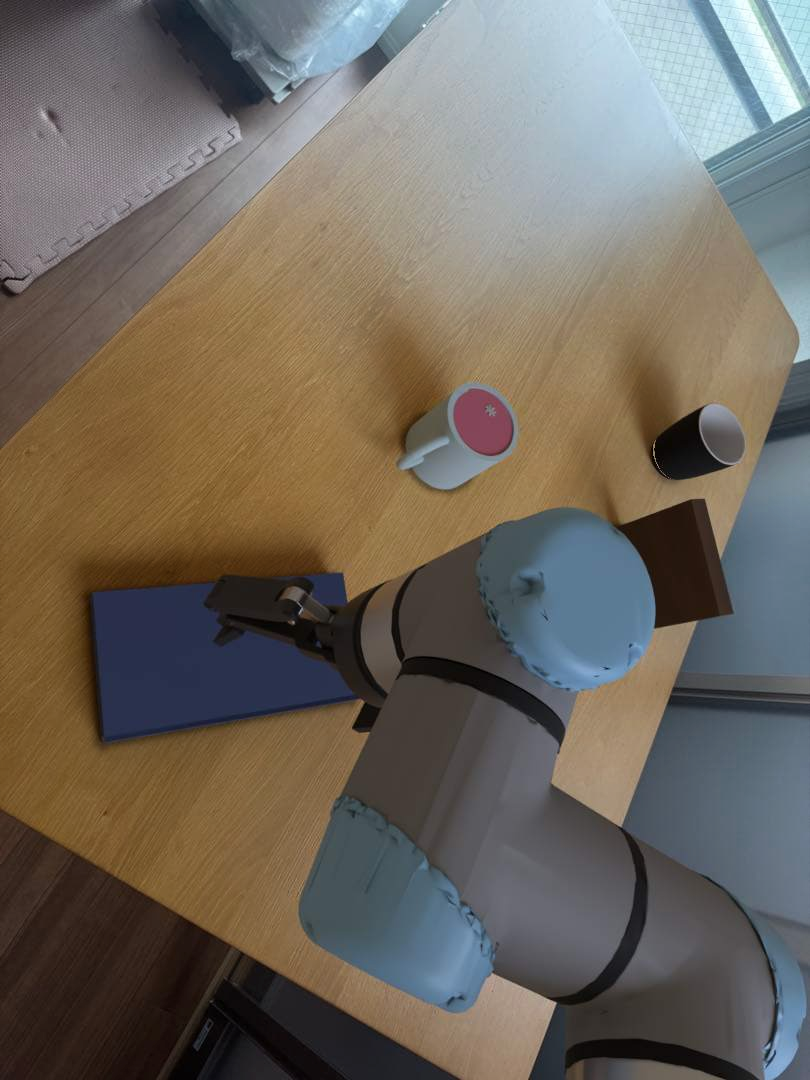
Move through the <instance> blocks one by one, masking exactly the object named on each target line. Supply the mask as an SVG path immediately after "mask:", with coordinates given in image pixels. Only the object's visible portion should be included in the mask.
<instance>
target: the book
mask: <svg viewBox="0 0 810 1080" xmlns="http://www.w3.org/2000/svg"><path fill="white" fill-rule="evenodd" d="M298 576H299V575H293V576H280V577H279V576H278V577H270V578H269V577H268V578H269V579H279V580H290V579H293V578H295V577H298ZM300 576H301V577H304V578H307V579H309V580H310V581H311V582H312V583H313V584H314V588H313V590H312V591H311V592H312V593H313V594H312V596H311V597H312V598H313V599H315V600H316V601H318V602H319V603H320V604H322V605H326V606H330V605H339V606H345V605H346V604H347V603H348V602H349V601H348V595H347V589H346V581H345V576H344V572H332V573H331V572H329V573H317V574H316V573H315V574H303V575H300ZM216 583H217V581H215V582H204V583H191V584H177V585H165V586H153V587H141V588H140V587H139V588H126V589H116V590H102V591H92V593H91V594H92V595H91V596H92V597H90V598H89V604H90V617H91V631H92V642H93V643H92V644H93V653H94V667H95V668H94V669H95V679H96V692H97V704H98V707H97V708H98V717H99V719H98V720H99V731H100V743H101V744H108V743H114V742H119V741H125V740H131V739H137V738H143V737H150V736H154V735H160V734H166V733H173V732H178V731H184V730H190V729H196V728H201V727H207V726H213V725H219V724H224V723H225V724H226V723H229V722H230V723H231V722H236V721H242V720H248V719H254V718H259V717H265V716H271V715H277V714H282V713H283V714H284V713H289V712H295V711H301V710H307V709H312V708H318V707H323V706H330V705H335V704H336V705H337V704H341V703H347V702H353V701H358V700H361V699H360V698H359V697H357V696H356V695H355V694H354V693H353V692H352V691H351V690H350V689H349V687H348V686H347V685H346V683H345V682H344V680H343V679H342V677H341V675H340V673H339V671H336V670H334V669H333V668H332V667H331V666H330V665H329V664H327V663H324V662H320V661H317V660H314V659H311V658H308V657H305V656H304V655H303V654H302V653H301V652H300V651H299V649H298V648H297V647H296V646H294V645H291V644H288V643H284V642H281V641H278V640H275V639H272V638H268V637H265V636H262V635H259V634H256V633H252V632H249V631H245V632H244V634H243V635H242V636H241V637H239V638H237V639H235V640H233V641H231V642H229V643H228V644H226V645H224V646H222V647H220V646H218V645H217V644H215V643H214V642H213V641H214V639H215V638H216V636H217V635H218V633H219V632H220V630H221V628H222V627H223V626H222V625H220V624H219V623H217V621H216V619H217V617H218V616H219V614H220V613H218V612H214V611H210V610H208V609H207V608H206V607H205V606H204V604H203V602H204V601H205V599H206V598H207V596H208V595H209V593H210V592H211V590H212V589H213V587H214V586H215V584H216ZM316 646H318V647H321V645H320V642H319V641H318V643H317V644H316ZM321 648H322V647H321Z"/></svg>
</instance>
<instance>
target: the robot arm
mask: <svg viewBox="0 0 810 1080" xmlns="http://www.w3.org/2000/svg"><path fill="white" fill-rule="evenodd" d="M615 527H616V526H614V525H613V524H612V523H611V522H610V521H609V520H606V519H605V518H603V517H602V516H601V515H599V514H597V513H595V512H592V511H590V510H588V509H583V508H579V507H572V506H559V507H553V508H549V509H545V510H541V511H539V512H537V513H534V514H531V515H527V516H525V517H522V518H519V519H516V520H515V519H514V520H513V519H512V520H507V521H503V522H502V523H498V524H497V525H495V526H494V527H493V528H490V529H489V530H488V531H487V532H485V533H483V534H481V535H479V536H477V537H475V538H472V539H470V540H469V541H467V542H465V543H463V544H461V545H459V546H457V547H455V548H453V549H451V550H449V551H447V552H445V553H443V554H441V555H439V556H437V557H435V558H433V559H431V560H429V561H427V562H425V563H423V564H422V565H420V566H417V567H415V568H413V569H411V570H409V571H406V572H404V573H403V574H401V575H400V574H399V576H396V577H393V578H392V579H389V580H386V581H384V582H381V583H379V584H378V585H376V586H375V585H374V586H373V587H371V588H369V589H367V590H365V591H363V592H361V593H359V594H358V595H356V596H355V597H354V598H352V599H351V600H350V601H347V602H348V603H347V604H346V605H345V606H339V605H330V606H326V605H322V604H320V603H319V602H318V601H316V600H315V599H313V598H312V597H311V596H312V594H313V593H312V592H311V591H312V590H313V588H314V584H313V583H312V582H311V581H310V580H309V579H307V578H304V577H301V576H302V575H297V576H298V577H295V578H293V579H290V580H279V579H269V577H259V576H258V577H257V576H248V575H236V574H228V573H227V574H226V573H222V574H221V575H220V576H219V578H218V580H217V581H216V582H217V583H216V584H215V586H214V587H213V589H212V590H211V592H210V593H209V595H208V596H207V598H206V599H205V601H204V602H203V604H204V606H205V607H206V608H207V609H208V610H210V611H214V612H218V613H220V614H219V616H218V617H217V619H216V621H217V623H219V624H220V625H222V626H223V627H222V628H221V630H220V632H219V633H218V635H217V636H216V638H215V639H214V641H213V642H214V643H215V644H217V645H218V646H220V647H222V646H224V645H226V644H228V643H229V642H231V641H233V640H235V639H237V638H239V637H241V636H242V635H243V634H244V632H245V631H249V632H252V633H256V634H259V635H262V636H265V637H268V638H272V639H275V640H278V641H281V642H284V643H288V644H291V645H294V646H296V647H297V648H298V649H299V651H300V652H301V653H302V654H303V655H304V656H305V657H308V658H311V659H314V660H317V661H320V662H324V663H327V664H329V665H330V666H331V667H332V668H333V669H334V670H336V671H339V673H340V675H341V677H342V679H343V680H344V682H345V683H346V685H347V686H348V687H349V689H350V690H351V691H352V692H353V693H354V694H355V695H356V696H357V697H359V698H360V699H359V700H361V701H363V705H362V706H361V709H360V710H359V712H358V715H357V717H356V718H355V720H354V723H353V725H352V726H351V729H352V730H353V731H355V732H356V733H358V734H364V733H369V734H368V735H367V738H366V740H365V742H364V745H363V746H362V748H361V751H360V753H359V755H358V757H357V759H356V761H355V763H354V765H353V767H352V770H351V771H350V773H349V776H348V778H347V780H346V782H345V785H344V786H343V789H342V791H341V793H340V795H339V796H338V797H336V798H335V800H334V802H333V804H332V807H331V810H330V812H329V816H330V818H329V820H328V823H327V825H326V829H325V831H324V833H323V837H322V839H321V842H320V844H319V847H318V849H317V852H316V855H315V857H314V860H313V863H312V865H311V868H310V870H309V873H308V876H307V878H306V880H305V883H304V885H303V888H302V890H301V893H300V896H299V900H298V901H299V902H298V919H299V923H300V926H301V928H302V930H303V932H304V933H305V935H306V937H307V938H308V939H309V940H310V941H311V942H312V943H314V944H315V945H317V946H318V947H319V948H321V949H323V950H324V951H325V952H327V953H328V954H331V955H332V956H333V957H337V958H338V959H339V960H341V961H343V962H345V963H347V964H348V965H350V966H352V967H354V968H356V969H358V970H360V971H362V972H364V973H365V974H367V975H369V976H371V977H373V978H374V979H377V980H379V981H381V982H382V983H384V984H387V985H389V986H391V987H392V988H395V989H396V990H399V991H401V992H403V993H405V994H407V995H410V996H412V997H414V998H415V999H417V1000H419V1001H422V1002H423V1003H426V1004H429V1005H432V1006H436V1007H438V1008H440V1010H442V1011H444V1012H448V1013H450V1014H462V1013H465V1012H467V1011H468V1010H470V1009H471V1008H472V1007H474V1005H475V1004H476V1002H477V1001H478V999H479V995H480V993H481V990H482V989H483V986H484V984H485V982H486V979H489V978H490V977H491V976H492V975H495V976H497V977H499V978H502V979H503V980H506V981H508V982H511V983H513V984H515V985H517V986H520V987H521V988H524V989H526V990H528V991H530V992H533V993H535V994H537V995H539V996H541V997H542V998H545V999H547V1000H549V1001H552V1002H554V1003H557V1004H558V1005H560V1006H561V1007H563V1008H565V1009H566V1028H565V1030H566V1031H565V1032H566V1033H565V1054H564V1055H565V1056H564V1057H565V1059H564V1074H565V1080H775V1079H776V1078H777V1077H779V1076H780V1075H781V1074H782V1073H783V1072H784V1071H785V1070H786V1068H788V1066H789V1065H790V1063H792V1061H793V1059H794V1057H795V1056H796V1053H797V1051H798V1049H799V1048H800V1047H799V1046H800V1045H799V1038H800V1037H799V1036H800V1034H801V1030H802V1026H803V1021H804V1019H805V1018H806V1016H807V995H806V994H807V993H806V988H805V983H804V978H803V974H802V972H801V968H800V966H799V963H798V961H797V959H796V956H795V955H794V953H793V950H792V949H791V948H790V946H789V944H788V943H787V941H786V940H785V939H784V937H783V936H782V935H781V934H780V932H778V931H777V929H776V928H775V927H774V926H773V925H772V924H771V923H770V922H769V921H768V920H766V919H765V918H764V917H762V916H761V915H760V914H758V913H757V912H756V911H754V909H752V908H750V907H749V906H748V905H747V904H745V903H744V902H743V901H741V899H739V898H738V896H736V895H735V894H734V893H732V891H730V890H729V889H728V888H726V887H725V886H724V885H722V884H720V882H719V883H718V882H717V881H715V880H713V878H711V877H710V876H708V875H705V874H702V873H699V872H697V871H695V870H694V869H691V868H689V867H687V866H686V865H684V864H682V863H680V862H679V861H677V860H676V859H674V858H672V857H670V856H669V855H667V854H666V853H663V852H662V851H660V850H659V849H657V848H655V847H653V846H652V845H651V844H648V843H647V842H645V841H643V840H641V839H640V838H639V837H637V836H635V835H633V834H632V833H630V832H628V831H627V830H626V829H625V828H623V827H621V826H620V825H618V824H616V823H615V822H613V821H612V820H610V819H608V818H607V817H606V816H604V815H602V814H601V813H599V812H597V811H596V810H594V809H593V808H591V807H589V806H588V805H586V804H585V803H583V802H582V801H579V800H578V799H576V798H575V797H574V796H572V795H570V794H568V793H567V792H565V791H564V790H563V789H560V787H558V786H556V785H554V784H553V783H552V781H553V777H554V771H555V766H556V763H557V757H558V755H559V754H560V752H561V748H562V746H563V742H564V739H565V736H566V733H567V729H568V727H569V723H570V720H571V717H572V714H573V711H574V708H575V705H576V702H577V698H578V695H579V693H580V691H589V690H591V691H595V690H596V689H597V688H600V686H601V685H604V684H608V683H612V682H614V681H615V682H616V681H617V680H619V679H621V678H623V677H624V676H625V675H626V674H627V673H628V672H629V671H631V670H632V669H633V668H634V667H635V666H636V664H638V663H639V660H640V659H641V658H643V657H644V656H645V654H646V652H647V650H648V649H649V646H650V643H651V640H652V637H653V634H654V630H655V629H654V624H655V598H654V593H653V588H652V584H651V580H650V577H649V574H648V572H647V569H646V567H645V564H644V562H643V560H642V558H641V556H640V555H639V553H638V551H637V550H636V548H635V547H634V546H633V545H632V543H631V542H630V541H629V540H628V538H627V537H626V536H625V535H624V534H623V533H622V532H620V531H619V530H618V529H617V528H615ZM318 641H319V642H320V645H321V647H322V648H321V647H318V646H316V644H317V643H318Z"/></svg>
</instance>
